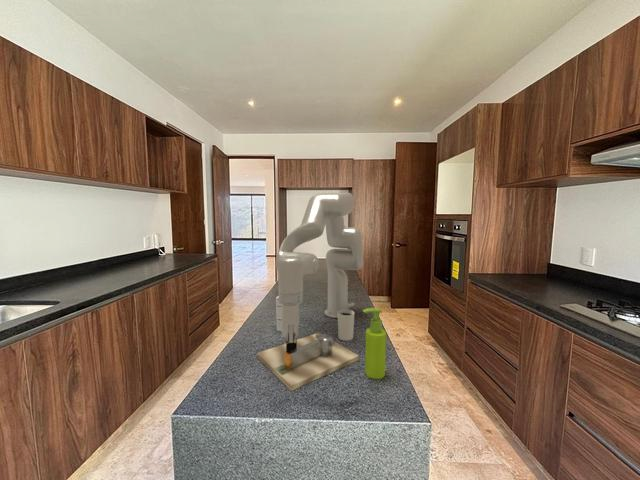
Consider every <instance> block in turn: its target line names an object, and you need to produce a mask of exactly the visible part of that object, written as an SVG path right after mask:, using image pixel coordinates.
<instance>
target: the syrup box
mask: <svg viewBox="0 0 640 480" xmlns="http://www.w3.org/2000/svg"><path fill="white" fill-rule="evenodd" d="M275 308H276V309H275V315H276V316H275V317H276V331H277V332H281V333H282V304H280V303H279V298H278V295H277V296H276V297H275Z"/></svg>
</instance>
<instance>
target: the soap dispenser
mask: <svg viewBox="0 0 640 480" xmlns="http://www.w3.org/2000/svg"><path fill="white" fill-rule="evenodd" d="M362 312H363V313H364V314H368V313H372V314H373V315H372V318H371V319H370V322H369V324H370V325H369V328H366V329H365V361H364V364H365V368H364V371H365V372H364V373H365V375H366V376H367V377H368V378H369V379H370V378H371V379H374V380H381V379H383V378H384V377H386V358H387V355H386V353H387V352H386V347H387V332H386V330H385V329H383V320H382V319H381V318H380V313H383V310H382V309H381V308H379V307H370V308H365V309H364V308H363V309H362Z"/></svg>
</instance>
